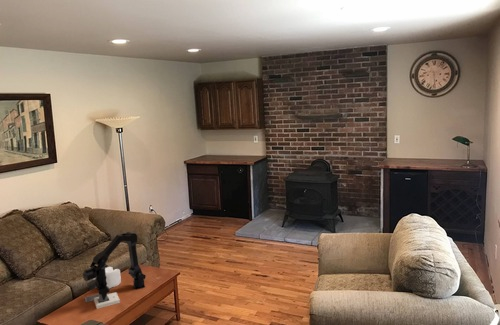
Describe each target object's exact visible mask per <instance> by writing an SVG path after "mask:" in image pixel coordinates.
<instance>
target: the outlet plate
mask: <svg viewBox="0 0 500 325" xmlns="http://www.w3.org/2000/svg"><path fill="white" fill-rule="evenodd" d="M107 294H108V295H107V299H108V300H107V301H103V302H100V300H99V297H96V298H94V301H93V302H94V304H95V308H96V310H98V309H101V308H106V307H109V306H113V305H118V304H121V299H120V297H119V296H118V292H112V293H107Z"/></svg>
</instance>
